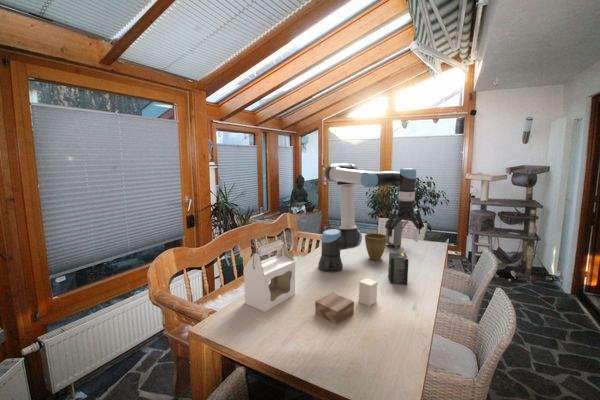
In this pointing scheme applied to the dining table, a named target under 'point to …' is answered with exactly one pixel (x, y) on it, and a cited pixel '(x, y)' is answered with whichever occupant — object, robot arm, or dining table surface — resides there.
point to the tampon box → (398, 268)
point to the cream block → (368, 291)
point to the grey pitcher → (396, 233)
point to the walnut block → (334, 308)
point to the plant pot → (375, 245)
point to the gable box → (269, 277)
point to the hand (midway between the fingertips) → (403, 241)
